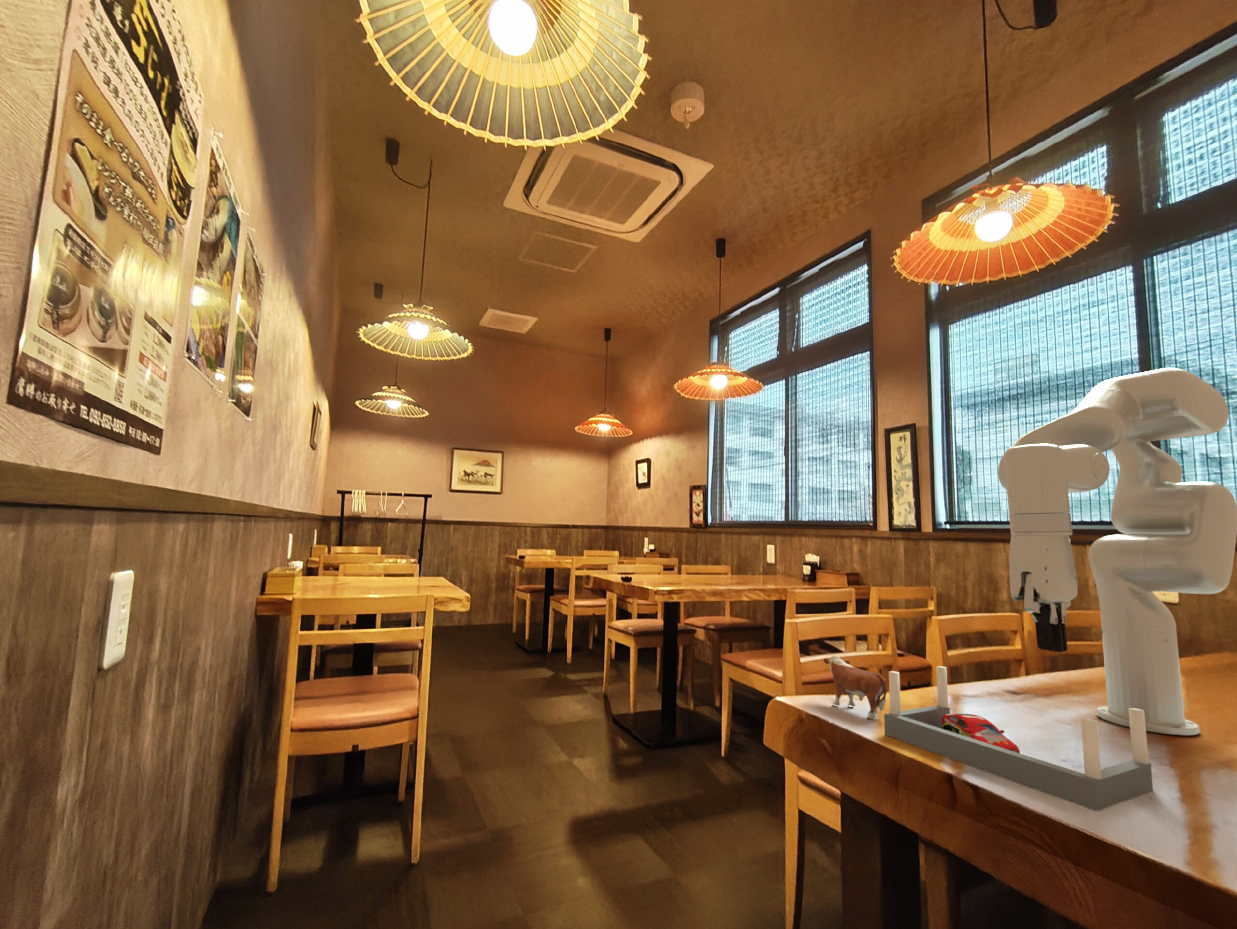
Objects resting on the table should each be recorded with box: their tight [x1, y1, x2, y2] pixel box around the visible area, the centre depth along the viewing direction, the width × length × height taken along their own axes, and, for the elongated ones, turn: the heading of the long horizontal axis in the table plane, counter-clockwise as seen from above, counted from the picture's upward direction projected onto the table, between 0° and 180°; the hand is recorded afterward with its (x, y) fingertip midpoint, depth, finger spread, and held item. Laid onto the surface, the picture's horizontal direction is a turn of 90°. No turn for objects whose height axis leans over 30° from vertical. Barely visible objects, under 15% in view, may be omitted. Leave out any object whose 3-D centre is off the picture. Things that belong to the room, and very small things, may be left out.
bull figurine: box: [823, 654, 887, 720], centre depth 97 cm, size 4×13×8 cm, turn 18°
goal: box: [883, 665, 1154, 812], centre depth 76 cm, size 14×26×9 cm, turn 28°
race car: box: [942, 713, 1021, 754], centre depth 80 cm, size 13×5×4 cm, turn 175°
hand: (1052, 649), depth 83 cm, fingers closed
